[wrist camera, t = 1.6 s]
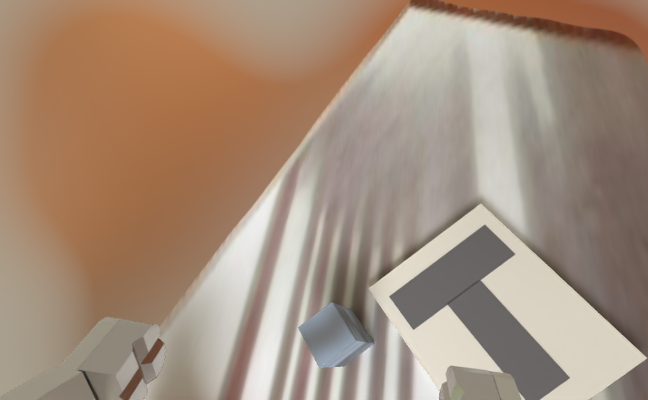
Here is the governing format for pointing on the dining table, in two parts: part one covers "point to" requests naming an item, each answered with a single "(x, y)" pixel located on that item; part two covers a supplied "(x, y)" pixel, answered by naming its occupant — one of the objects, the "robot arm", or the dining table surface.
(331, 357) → the gray block
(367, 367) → the dining table surface
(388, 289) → the letter board
